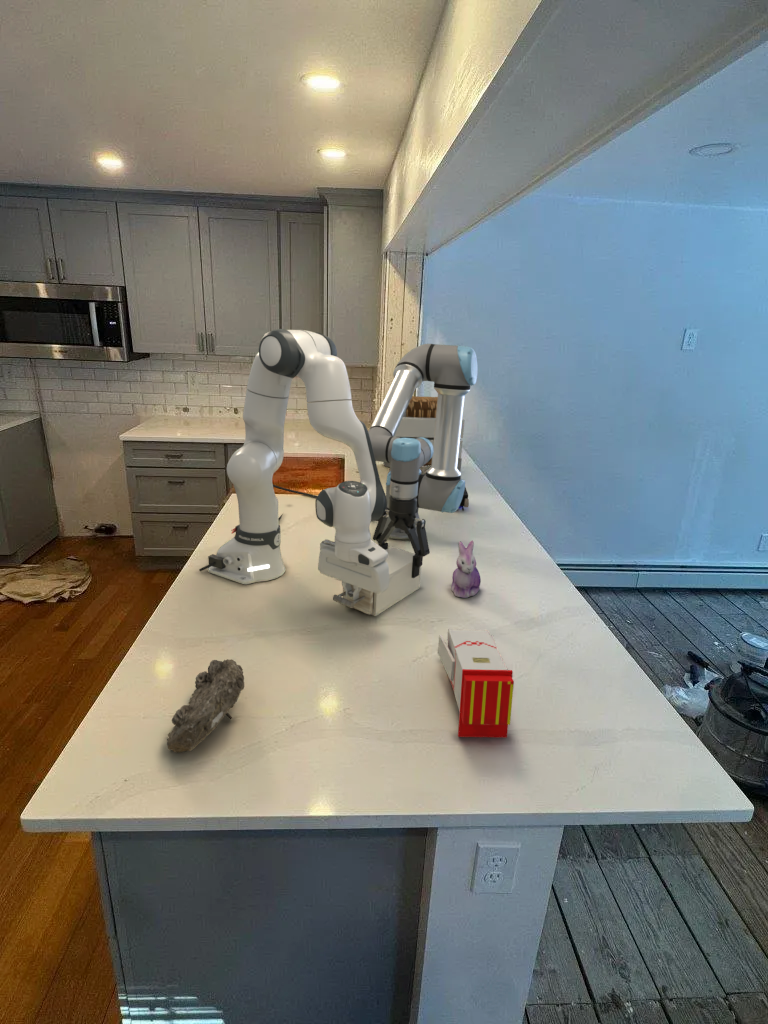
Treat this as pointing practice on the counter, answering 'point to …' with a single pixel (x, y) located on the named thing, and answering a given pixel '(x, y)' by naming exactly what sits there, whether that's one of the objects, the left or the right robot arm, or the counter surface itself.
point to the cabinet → (397, 580)
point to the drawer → (357, 600)
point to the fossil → (206, 705)
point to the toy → (478, 682)
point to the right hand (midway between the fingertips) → (399, 570)
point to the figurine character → (464, 500)
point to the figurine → (466, 573)
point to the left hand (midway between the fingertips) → (352, 598)
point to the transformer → (422, 423)
